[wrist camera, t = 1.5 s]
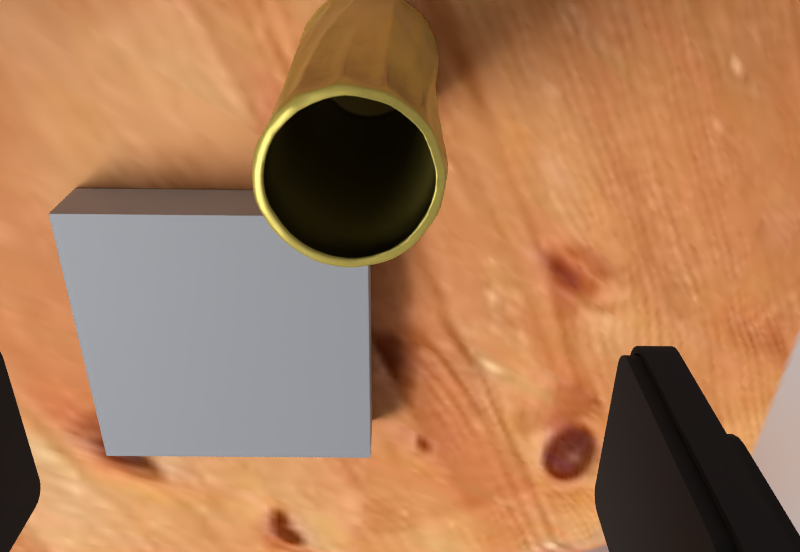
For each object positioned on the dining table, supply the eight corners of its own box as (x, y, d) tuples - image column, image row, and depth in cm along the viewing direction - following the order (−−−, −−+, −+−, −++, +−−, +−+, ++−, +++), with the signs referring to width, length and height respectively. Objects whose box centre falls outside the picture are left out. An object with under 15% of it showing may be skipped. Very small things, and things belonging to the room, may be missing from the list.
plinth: (75, 188, 35) (48, 213, 32) (369, 190, 35) (367, 216, 32) (125, 418, 41) (106, 455, 39) (372, 420, 42) (370, 457, 39)
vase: (455, 9, 31) (493, 100, 18) (418, 144, 34) (429, 303, 21) (313, -29, 30) (252, 39, 18) (287, 113, 33) (219, 257, 20)
